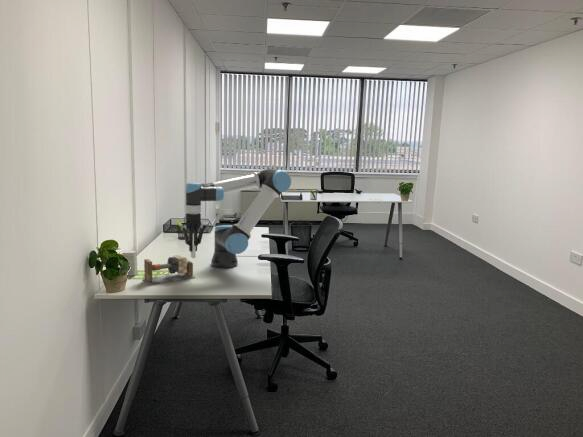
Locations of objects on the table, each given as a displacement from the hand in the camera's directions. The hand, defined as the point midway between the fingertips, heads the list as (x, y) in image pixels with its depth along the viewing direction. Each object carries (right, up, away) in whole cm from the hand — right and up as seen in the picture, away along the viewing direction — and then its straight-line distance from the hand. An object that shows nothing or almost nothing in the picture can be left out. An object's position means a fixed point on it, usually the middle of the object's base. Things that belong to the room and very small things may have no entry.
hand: (193, 257), depth 227 cm
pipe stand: (-11, -10, -6) cm, 16 cm away
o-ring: (-10, -7, -5) cm, 13 cm away
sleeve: (-6, -7, -3) cm, 10 cm away
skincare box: (-33, -9, -1) cm, 34 cm away
